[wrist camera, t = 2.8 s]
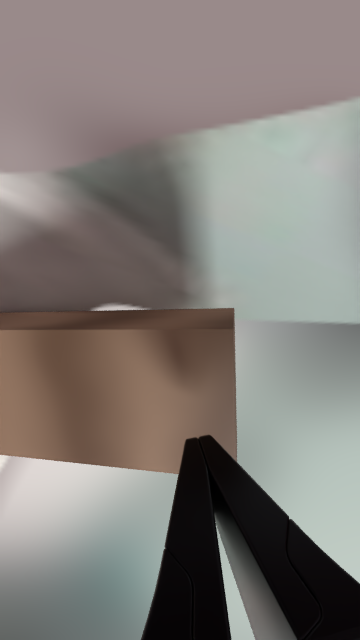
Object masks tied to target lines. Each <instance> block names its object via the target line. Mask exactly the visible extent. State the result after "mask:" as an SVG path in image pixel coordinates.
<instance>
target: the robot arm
mask: <svg viewBox="0 0 360 640" xmlns="http://www.w3.org/2000/svg"><path fill="white" fill-rule="evenodd" d="M215 522H216V523H215ZM216 525H217V528H218V531H219V534H220V536H221V540H222V542H223V545H224V548H225V551H226V554H227V557H228V560H229V563H230V566H231V569H232V572H233V575H234V578H235V581H236V584H237V586H238V589H239V592H240V595H241V598H242V601H243V604H244V607H245V610H246V613H247V616H248V619H249V622H250V625H251V628H252V630H253V634H254V637H255V640H360V584H359V583H358V582H357V581H356V580H355V579H354V578H353V577H352V576H350V575H349V574H348V573H347V572H346V571H344V569H342V568H341V567H340V566H339V565H338V564H337V563H336V562H335V561H334V560H332V559H331V558H330V557H329V556H328V555H327V554H326V553H325V552H323V550H321V549H320V548H319V547H318V546H317V545H316V544H315V543H314V542H313V541H312V540H311V539H310V538H309V537H308V536H307V535H306V534H305V533H304V532H303V531H302V530H301V529H300V528H299V526H298V525H296V523H295V522H294V521H293V520H292V519H289V516H288V515H287V514H286V513H285V512H284V511H283V510H282V509H281V508H280V507H279V506H278V505H277V504H276V503H275V502H274V501H273V500H272V498H271V497H270V496H269V495H268V494H267V493H266V492H265V491H264V490H263V489H262V488H261V487H260V486H259V485H258V484H257V483H256V482H255V481H254V480H253V478H251V476H250V475H248V473H247V472H246V471H245V470H244V469H243V468H242V467H241V466H240V465H239V464H238V463H237V462H236V461H235V460H234V459H233V458H232V457H231V455H230V454H229V453H228V452H227V451H226V450H225V449H224V448H223V447H222V446H221V445H220V444H219V443H218V442H217V441H216V440H215V439H214V438H213V437H212V436H211V435H204V436H199V438H197V437H193V438H188V439H186V440H185V444H184V449H183V454H182V459H181V464H180V470H179V475H178V480H177V485H176V490H175V495H174V500H173V506H172V511H171V516H170V521H169V526H168V531H167V537H166V542H165V549H164V551H163V556H162V561H161V567H160V571H159V575H158V580H157V584H156V589H155V593H154V597H153V600H152V604H151V607H150V611H149V614H148V618H147V622H146V625H145V628H144V631H143V635H142V638H141V640H231V634H230V626H229V620H228V612H227V604H226V597H225V589H224V582H223V575H222V568H221V560H220V552H219V545H218V538H217V531H216Z"/></svg>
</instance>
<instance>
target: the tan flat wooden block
mask: <svg viewBox="0 0 360 640" xmlns="http://www.w3.org/2000/svg"><path fill="white" fill-rule="evenodd" d="M234 326H235V323H234V308H218V309H167V310H117V311H64V312H13V313H0V455H8V456H18V457H27V458H36V459H45V460H54V461H64V462H73V463H82V464H91V465H100V466H109V467H119V468H128V469H137V470H146V471H155V472H165V473H174V474H179V470H180V464H181V459H182V454H183V449H184V444H185V440H186V439H188V438H193V437H197V438H199V436H204V435H211V436H212V437H213V438H214V439H215V440H216V441H217V442H218V443H219V444H220V445H221V446H222V447H223V448H224V449H225V450H226V451H227V452H228V453H229V454H230V455H231V457H232V458H233V459H234V460H235V461H236V462H237V425H236V424H237V423H236V375H235V374H236V373H235V327H234Z"/></svg>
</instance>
